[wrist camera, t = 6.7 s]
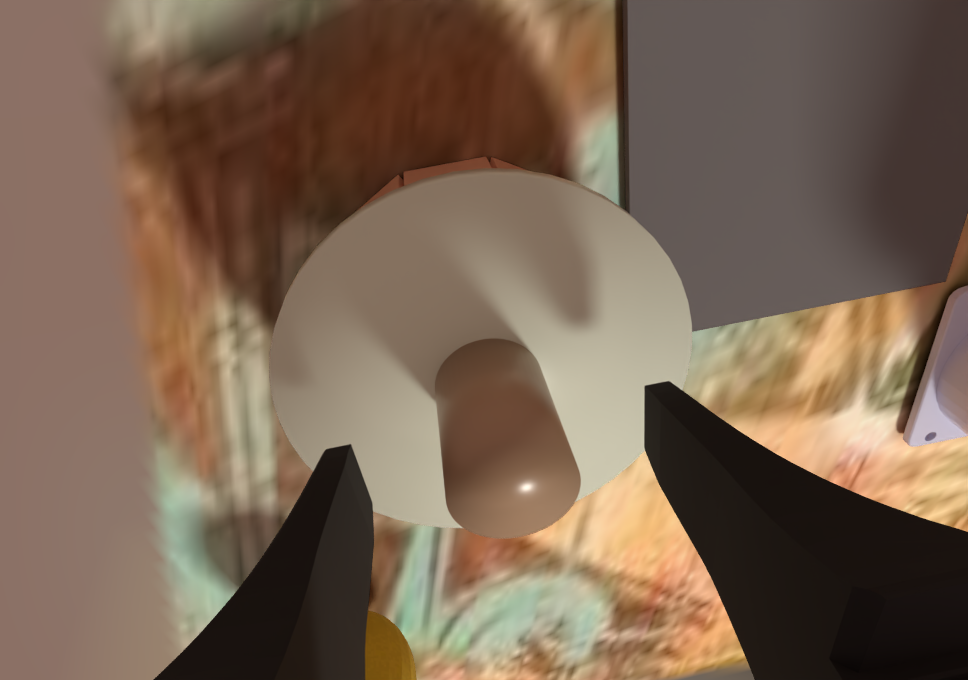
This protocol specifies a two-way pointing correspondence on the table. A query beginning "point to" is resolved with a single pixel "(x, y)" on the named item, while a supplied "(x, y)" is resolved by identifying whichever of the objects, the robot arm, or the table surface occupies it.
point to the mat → (796, 147)
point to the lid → (480, 347)
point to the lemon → (386, 651)
